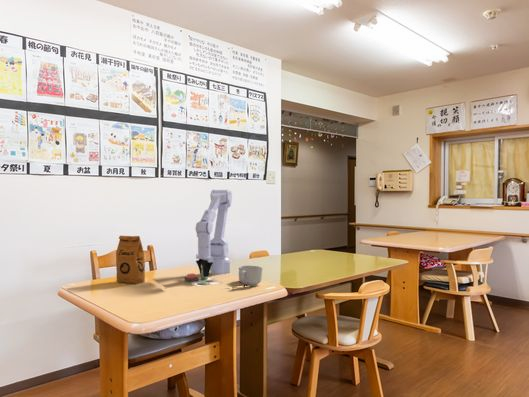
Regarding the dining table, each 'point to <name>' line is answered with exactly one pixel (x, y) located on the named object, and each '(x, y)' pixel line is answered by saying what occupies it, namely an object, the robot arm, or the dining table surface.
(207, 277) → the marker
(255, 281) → the teacup
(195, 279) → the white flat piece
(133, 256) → the coffee package
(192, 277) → the button
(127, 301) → the dining table surface
